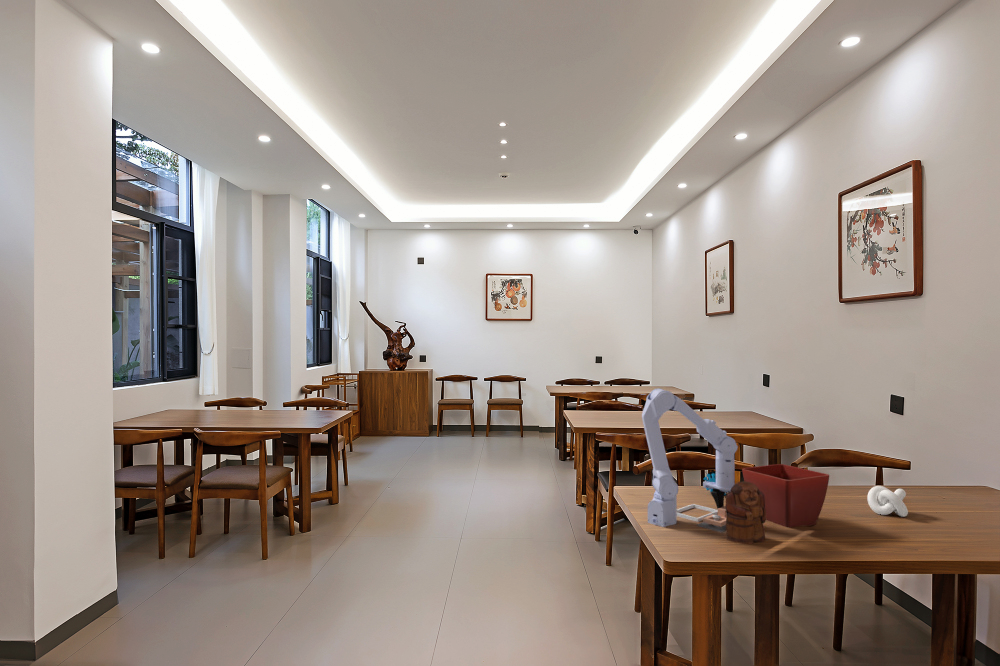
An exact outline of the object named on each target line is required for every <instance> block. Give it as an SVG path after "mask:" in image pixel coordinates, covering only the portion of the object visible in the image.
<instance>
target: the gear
mask: <svg viewBox="0 0 1000 666" xmlns="http://www.w3.org/2000/svg"><path fill="white" fill-rule="evenodd" d="M703 480H704V481H703V482H705V481H708V482H716V473H714V472H712V473H711V474H710V473H706V475H705V477H704V478H703ZM705 489H706V491H709V492H710V493H711V491H712V490H713V489H710V488H705ZM725 494H728V492H725ZM724 497H725V495H724Z"/></svg>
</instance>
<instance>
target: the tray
mask: <svg viewBox="0 0 1000 666" xmlns="http://www.w3.org/2000/svg"><path fill="white" fill-rule="evenodd" d="M694 508H695V509H699V510H702V511H706V512H709V513H707V514H703V515H701V516H699V517H697V516H696V517H695V516H691V515H687V514H685V513H682V512H685V511H688V510H691V509H694ZM712 514H713V515H718V509H717V508H716V509H715V508H711V507H708V506H705V505H704V506H703V505H699V504H695V503H692V504H689V505H685V506H683V507H680V508H677V518H678V517H679V518H682V519H686V520H690V521H694V522H698V523H699V522H703V518H705V517H707V516H710V515H712Z"/></svg>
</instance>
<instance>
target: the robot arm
mask: <svg viewBox="0 0 1000 666" xmlns="http://www.w3.org/2000/svg"><path fill="white" fill-rule="evenodd" d="M669 410H672V411H675V412H678V413H679V414H681V416H683V417H685V418H686V419H687V420H688V421H689V422H691V423H692V424H693V425H695V427H696V433H698V434H699V435H700V436H701V437H703V438H704V440H706V441H707V442H708V443H709V444H711V445H712V447H713V448H714V449H715V474H716V475H715V478H716V482H708V481H705V480H704V481H705V482H704V481H703V482H702V488H703V489H706V488H710V490H711V489H713V490H712V491H711V492H710V495H711V497H712V498H713V500H714V503H715V505H716V510H718V508H721V507H723V506H724V505H725V504H724V503H725V499H726V496H727V494H728V493H730V492H731V488H732V487H733V486H734V485H735V484H736V483H735V480H736V479H735V478H736V477H735V473H736V472H735V469H736V468H735V467H736V466H735V465H736V464H735V453H736V452H737V451H738V448H739V446H738V445H737V442H736V440H735V439H734V438H732V436H728V435H727V434H728V433H727V431H726V430H723V429H721V428H720V427H719V426H717V422H716V421H715V420H714V419H709V418H705V419H704V418H703V417H702V416H700V415H699V414H698V413H697V412H696V411H695V410H694V409H693V408H692V407H690V406H689V405H688V404H687V403H686V402H685V401H684V400H683V399H682V398H680V397H678V396H677V395H674V393H672V391H670V390H665V389H663V388H659V387H658V388H654V389H653V390H651V391H650V392H649V394H648V395H646V401H645V404H644V407H643V409H642V413H641V420H642V424H643V430H644V433H645V438H646V442H647V446H648V450H649V455H650V459H651V464H652V467H653V468H652V483H651V484H652V487H653V489H654V490H655V491H654V493H653V498H652V499H651V500H650V501H649V502H648V504H647V523H648V524H651V525H655V526H659V527H662V528H665V527H668V526H673V525H676V524H677V520H678V516H677V509H678V507H677V506H678V504H677V495H678V494H679V485H678V484H677V483H676V481H675V480H674V476H673V473H672V471H671V469H670V466H669V462H668V457H667V453H666V448H665V444H664V440H663V436H662V435H663V434H662V432H661V427H660V422H659V420H660V419H661V417H662V416H663V415H665V413H667V412H668V411H669ZM726 492H727V493H726ZM725 493H726V494H725ZM724 495H725V496H724ZM727 514H728V512H727Z"/></svg>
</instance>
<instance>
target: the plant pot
mask: <svg viewBox="0 0 1000 666" xmlns="http://www.w3.org/2000/svg"><path fill="white" fill-rule="evenodd" d="M741 470H742V476H743V481H746V482H750V483H752V484H754V485H756V486H757V488H758V489H759V491H761V492H762V493H763V494H764V497H765V509H766V521H768V522H770V523H773V524H776V525H780V526H782V527H785V528H795V527H801V526H805V527H809V526H810V527H811V526H815V525H816V524H817V522H818V519H819V517H820V514H821V512H822V509H823V507H824V503H825V499H826V496H827V492H828V486H829V482H830V481H829V480H830V474H829V473H823V472H819V471H815V470H810V469H807V468H801V467H797V466H792V465H788V464H785V463H784V464H783V463H779V464H777V463H776V464H767V465H761V466H752V467H743V468H742V469H741Z"/></svg>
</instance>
